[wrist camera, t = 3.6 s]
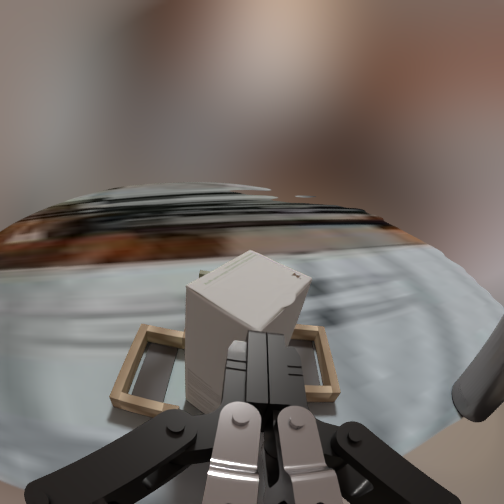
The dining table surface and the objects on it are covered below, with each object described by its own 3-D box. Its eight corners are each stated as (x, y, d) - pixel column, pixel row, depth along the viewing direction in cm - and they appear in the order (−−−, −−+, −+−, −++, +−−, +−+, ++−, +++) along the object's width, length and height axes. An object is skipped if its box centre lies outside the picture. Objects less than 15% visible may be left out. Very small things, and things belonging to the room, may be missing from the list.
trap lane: (312, 307, 44) (319, 287, 43) (341, 437, 23) (357, 420, 22) (165, 285, 43) (165, 264, 41) (112, 410, 22) (103, 389, 20)
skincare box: (230, 360, 32) (250, 246, 25) (276, 389, 29) (317, 276, 22) (182, 401, 25) (180, 280, 18) (231, 438, 22) (262, 330, 15)
